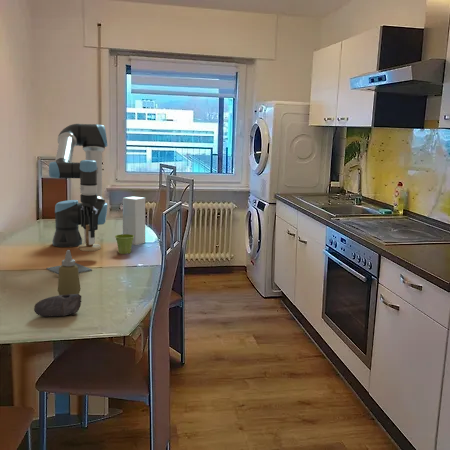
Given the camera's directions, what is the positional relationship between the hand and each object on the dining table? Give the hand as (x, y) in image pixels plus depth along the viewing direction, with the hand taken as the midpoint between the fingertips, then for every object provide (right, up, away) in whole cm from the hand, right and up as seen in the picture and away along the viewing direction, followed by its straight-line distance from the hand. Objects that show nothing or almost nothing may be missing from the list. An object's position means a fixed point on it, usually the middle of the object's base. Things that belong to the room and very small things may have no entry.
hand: (89, 243), depth 240 cm
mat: (-4, -11, -17) cm, 21 cm away
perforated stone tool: (+9, -22, -71) cm, 75 cm away
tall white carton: (+14, -1, +40) cm, 42 cm away
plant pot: (+13, -6, +17) cm, 22 cm away
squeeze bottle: (+7, -18, -55) cm, 58 cm away
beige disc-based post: (0, -2, 0) cm, 3 cm away
